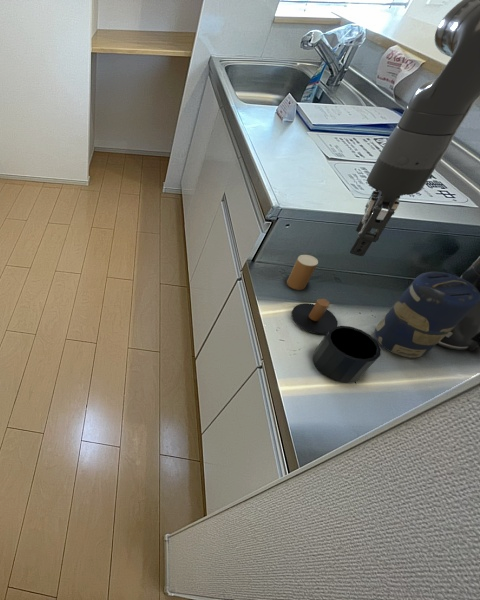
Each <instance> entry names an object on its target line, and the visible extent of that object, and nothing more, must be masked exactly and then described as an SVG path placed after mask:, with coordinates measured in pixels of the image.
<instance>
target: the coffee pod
mask: <svg viewBox="0 0 480 600" xmlns="http://www.w3.org/2000/svg"><path fill="white" fill-rule="evenodd" d="M318 264H319V260H318V258H316V257H315V256H313V255H310V254H300V255H299V256H297V259H296V261H295V263H294V265H293V268H292V269H291V272H290V274H289V276H288V278H287V280H286V285H287V286H288V287H289V288H291V289H293V290H298V291H301V290H304V289H305V288H306V287H307V285H308V283H309V281H310V279H311V278H312V276H313V274H314V272H315V270H316V268H317V266H318Z"/></svg>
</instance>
